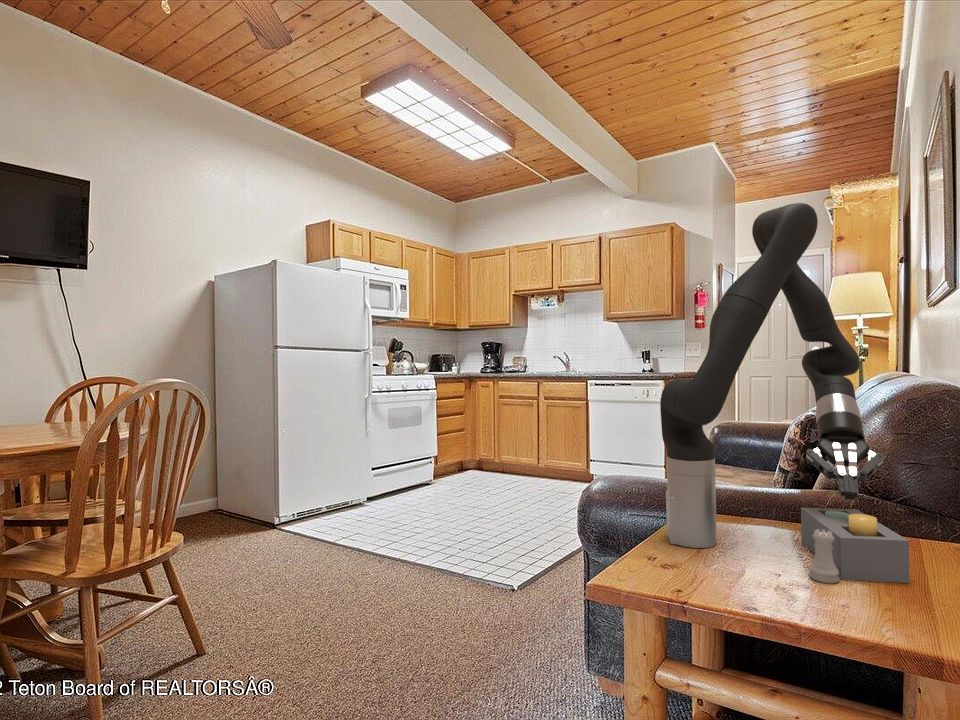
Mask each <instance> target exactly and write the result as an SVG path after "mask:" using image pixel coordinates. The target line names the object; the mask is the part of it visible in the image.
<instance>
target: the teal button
mask: <svg viewBox="0 0 960 720" xmlns="http://www.w3.org/2000/svg"><path fill="white" fill-rule="evenodd" d="M825 516H827V517H828V518H847V519H849V514H848V513H845V512H841V511H826V512H825Z"/></svg>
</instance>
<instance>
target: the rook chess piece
mask: <svg viewBox="0 0 960 720" xmlns="http://www.w3.org/2000/svg"><path fill="white" fill-rule="evenodd" d="M812 537H813V538H814V540H815V544H814V546H815V554H814V557H813V561H812V562H811V564H810V565H809V567H808V569H809V572H808V575H809V576H810V578H811V580H814V581H815V580H816V582H819V583H822V584H830V585H831V584H837V583H838V582H839V581H840V580H841V579H840V578H839V577H838V575H839V571H838V569H837V568H836V565H835V564H834V561H833V556H832V549H833V546H832V542H833V541H834V540H835V538H834V537H833V536H832V532H831V531H827V533H825V530H823V529H822V532H820V530H819V529H816V530H815V533H814V534H813V535H812Z"/></svg>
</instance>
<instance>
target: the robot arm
mask: <svg viewBox="0 0 960 720" xmlns="http://www.w3.org/2000/svg"><path fill="white" fill-rule="evenodd" d="M818 222H819V220H818V214H817V212H816V210H815V209H814V207H813V206H811V205H810V204H808V203H804V202H796V203H789V204H786V205H784V206H781V207H777V208H773V209H770V210H766V211H764V212H762V213H760V214H759V215H758V216H757V217H756V218H755V220H754V221H753V224H752V226H751V227H752V228H751V229H752V230H751V233H752V238H753V241H754V244H755V246H756V248H757V249H758V251H759V254H760V256H759V258H758V259H757V260H756V261H755V262H754V263H753V264H752V265H751V266H750V267H748V268H747V269H746V271H744V272H743V273H742V274H741V275H740V276H739V277H738V278H736V280H734V281H733V283H732V284H731V285H730V286H729V287H728V288H727V290H726V291H725V292H724V293H723V295H722V298H721V299H720V301H719V303H718V304H717V307H716V308H715V310H714V312H713V314H712V317H711V320H710V322H709V323H710V325H709V337H708V338H709V342H708V348H707V349H708V350H707V353H706V355H705V356H704V359H703V361H702V363H701V364H700V366H699V368H698V370H697V371H696V373H694V376H693V377H692V378H691V377H690V378H688V377H680V378H679V377H678V378H673V379H672V380H669V382H668V383H666V384H665V386H664V387H663V389H662V392H661V394H660V405H659V406H660V407H659V408H660V425H661V436H662V441H663V444H664V446H665V450H666V475H667V476H666V483H667V485H666V486H667V489H666V490H665V507H666V508H665V509H666V511H665V512H666V519H665V520H666V535H667V539H668V541H669V543H670V544H671V545H677V546H681V547H684V548H685V547H686V548H695V549H705V548H711V547H714V546H716V545H717V543H718V542H717V541H718V539H717V538H718V537H717V536H718V533H717V499H716V498H717V496H716V495H717V492H716V489H717V487H716V451H715V450H716V447H715V445H714V444H713V442H712V441H711V440H710V438H708V437H707V435H706V433H705V432H704V429H703V427H704V426H706V425H708V424H710V423H712V422H713V421H715V419H716V418H717V417H718V416H719V415H720V413H721V411H722V409H723V407H724V404H725V403H726V401H727V398H728V396H729V392H730V390H731V388H732V385H733V382H734V379H735V378H736V375H737V372H738V371H739V369H740V366H741V365H742V362H743V361H744V359H745V356H746V355H747V353H748V351H749V349H750V347H751V345H752V343H753V342H754V339H755V337H756V336H757V334H758V332H759V331H760V329H761V328H762V325H763V324H764V321H765V320H766V318H767V316H768V314H769V312H770V310H771V307H772V306H773V304H774V302H775V301H776V299H777V297H778V295H779V293H780V292H781V291H782V293H783V294H784V297H785V299H786V301H787V303H788V305H789V307H790V309H791V313H792V316H793V318H794V319H793V320H794V321H795V324H796V326H797V330H798V332H799V335H800V337H801V339H802V340H803V341H804V342H807V343H827V344H829V346H826V347H821V348H816V349H815V348H814V349H811V350H809V351H807V352H806V353H805V354H804V355H803V356H802V359H801V366H802V369H803V372H804V374H805V375H806V376H807V378H808V379H809V381H810V382H811V385H812V387H813V390H814V391H813V392H814V396H815V406H816V408H815V416H816V417H815V423H816V427H817V436H818V442H817V444H816V448H813V449H812V448H808V449H806V454H805V455H806V456H805V459H806V461H807V462H809V463H810V464H811V465H812V466H813V467H815V469H816V470H817V471H819V472H820V473H821V474H822V475H823V476H824V477H825V478H827V479H829V480H830V479H833V480H835V481H837V485H838V493H839V495H840V497H843V498H844V500H851V501H854V500H855V498H857V497H859V496H858V495H859V491H860V490H859V484H858V482H860V481H861V482H865V481H867V480H868V479H869V478H870V477H871V476H872V475H873V474H874V473H875V472H876V471H877V470H879V468H880V467H881V466H882V465H883V463H884V459H885V454H884V453H882V452H877V453H876V452H875V451H872V450H871V449H870V445H868V444H867V442H866V439H865V438H866V437H865V433H864V428H863V422H862V415H861V412H860V409H859V405H858V402H857V399H856V392H855V387H854V384H853V382H852V381H851V379H850V378H847V377H848V376H852V375H854V374H856V373H857V372H858V370H860V366H861V360H860V356H859V355H858V353H857V351H856V350H855V348H854V347H853V345H851V343H850V342H849V341H848V339H846V337H845V336H844V334H843V333H842V331H841V330H840V328H839V326H838V323H837V321H836V320H835V316H834V313H833V311H832V308H831V305H830V302H829V300H828V298H827V297H826V295H825V293H824V292H823V290H821V288H820V287H819V286H818V285H817V284H816V283H815V282H814V281H813V280H812V279H811V278H810V277H809V276H808V275H807V274H806V273H805V272H804V271H803V270H802V268H801V267H800V265H799V264H798V262H799V260H800V259H802V258H801V257H802V256H803V255H804V254H805V252H806V250H807V249H808V248H809V246H810V245H811V243H812V241H813V239H814V238H815V235H816V233H817V229H818ZM865 458H867V463H865V464H864V465H863V467H862V468H861V469H859V470H857V469H858V467H857V466H859V465H860V464H861V463H862V462H863V461H864V460H865ZM825 459H826V460H825Z"/></svg>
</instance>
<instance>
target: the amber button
mask: <svg viewBox="0 0 960 720" xmlns="http://www.w3.org/2000/svg"><path fill="white" fill-rule="evenodd" d="M877 522H878V518H877V517H875V516H873V515H869V514H866V513H864V514H849V533H850V534H852V535H853V536H874V537H877Z"/></svg>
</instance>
